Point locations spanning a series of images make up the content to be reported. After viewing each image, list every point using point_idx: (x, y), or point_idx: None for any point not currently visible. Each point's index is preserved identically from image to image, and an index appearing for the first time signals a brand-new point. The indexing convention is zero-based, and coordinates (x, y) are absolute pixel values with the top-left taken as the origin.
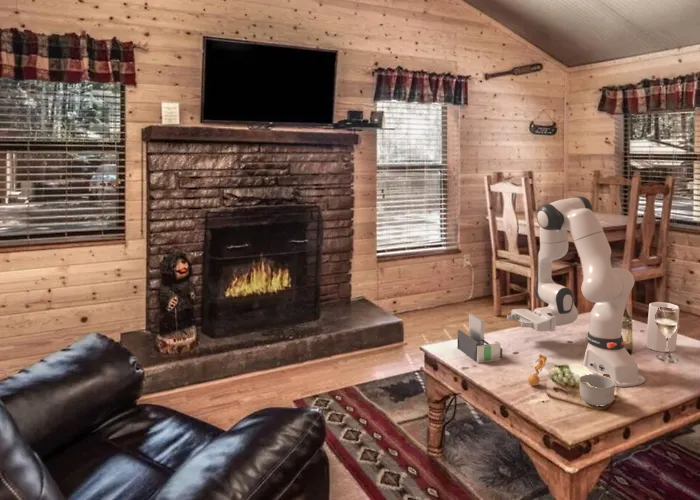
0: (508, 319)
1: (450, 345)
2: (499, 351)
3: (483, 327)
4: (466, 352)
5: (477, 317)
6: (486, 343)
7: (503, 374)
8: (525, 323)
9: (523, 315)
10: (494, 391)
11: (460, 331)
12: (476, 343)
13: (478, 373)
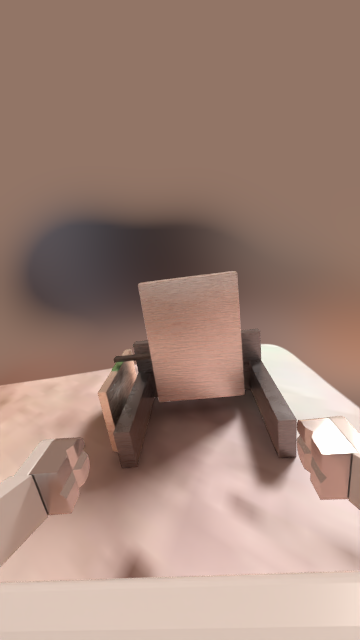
0: (302, 444)
1: (283, 376)
2: (106, 419)
3: (143, 312)
4: None
5: (179, 278)
6: (118, 357)
7: (35, 420)
8: (14, 483)
9: (223, 595)
10: (11, 384)
11: (245, 331)
12: (135, 343)
13: (89, 383)
